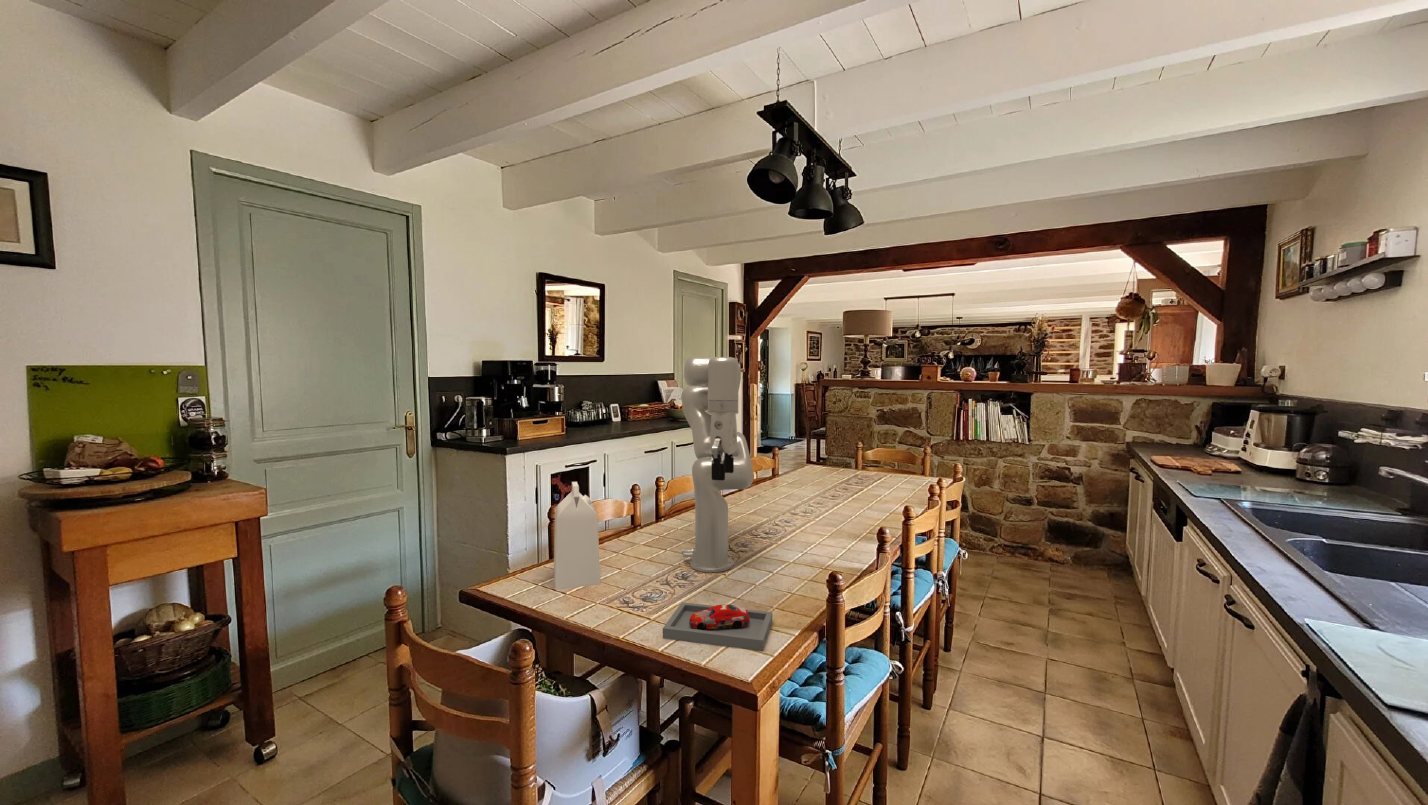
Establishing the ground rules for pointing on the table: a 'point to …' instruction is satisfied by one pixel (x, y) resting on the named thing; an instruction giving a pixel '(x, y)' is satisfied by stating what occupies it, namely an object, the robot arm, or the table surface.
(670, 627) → the tray
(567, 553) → the milk
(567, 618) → the table surface
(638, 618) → the table surface
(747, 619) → the race car
